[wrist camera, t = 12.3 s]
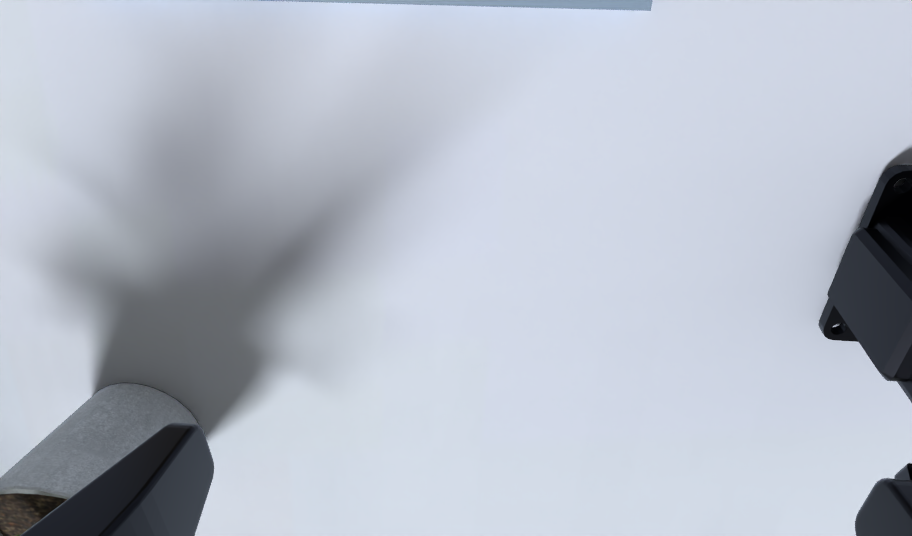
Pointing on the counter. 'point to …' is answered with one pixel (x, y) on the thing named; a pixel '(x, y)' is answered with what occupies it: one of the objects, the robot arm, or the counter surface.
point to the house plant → (83, 451)
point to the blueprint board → (514, 3)
